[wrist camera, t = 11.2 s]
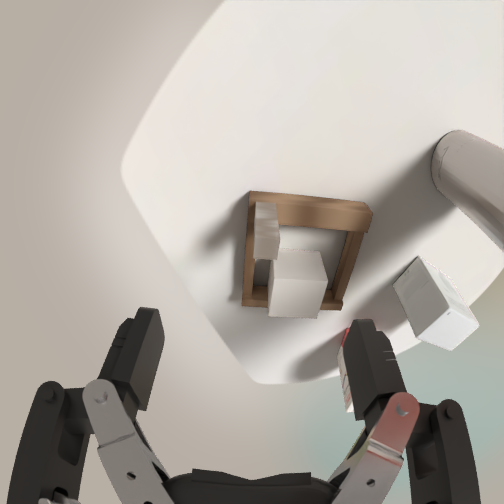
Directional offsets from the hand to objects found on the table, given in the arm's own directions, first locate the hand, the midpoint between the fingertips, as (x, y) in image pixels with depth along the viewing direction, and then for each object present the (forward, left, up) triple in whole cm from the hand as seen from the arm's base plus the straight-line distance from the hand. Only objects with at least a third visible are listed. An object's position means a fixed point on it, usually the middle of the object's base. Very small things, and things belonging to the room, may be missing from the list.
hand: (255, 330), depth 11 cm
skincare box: (-27, +15, -22) cm, 38 cm away
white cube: (-6, +13, -22) cm, 27 cm away
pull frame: (-6, +11, -22) cm, 25 cm away
